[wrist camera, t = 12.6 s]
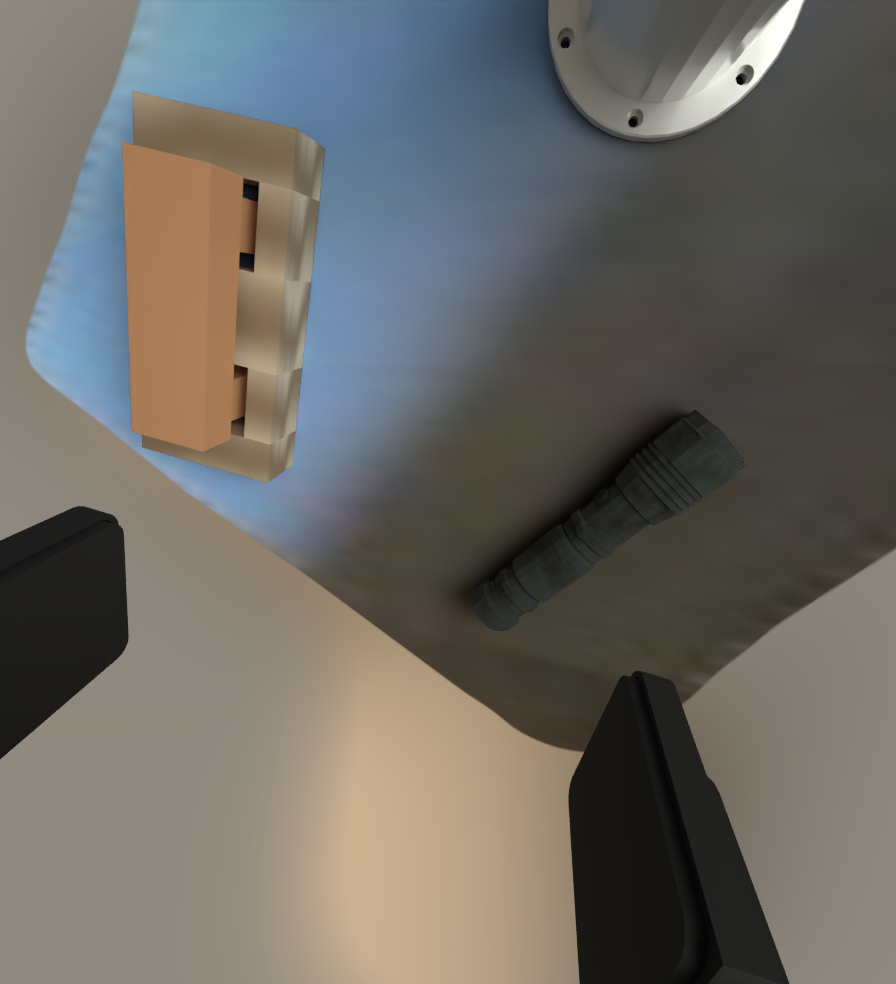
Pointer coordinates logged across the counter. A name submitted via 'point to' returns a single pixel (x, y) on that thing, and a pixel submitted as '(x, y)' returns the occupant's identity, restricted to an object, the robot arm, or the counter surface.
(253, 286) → the slotted tan block
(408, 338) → the counter surface
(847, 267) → the counter surface
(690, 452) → the flashlight
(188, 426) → the tan wedge board
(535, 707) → the counter surface
